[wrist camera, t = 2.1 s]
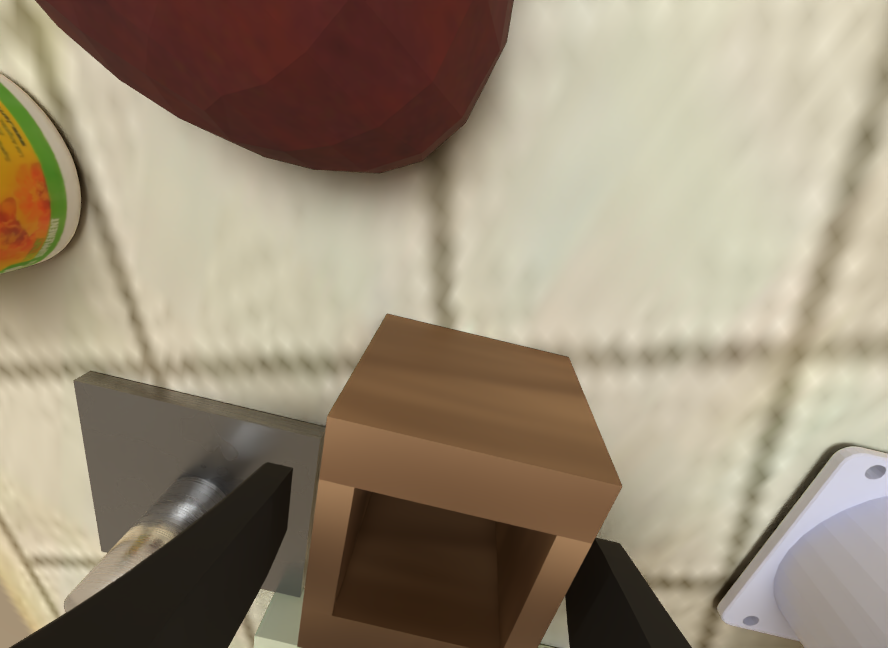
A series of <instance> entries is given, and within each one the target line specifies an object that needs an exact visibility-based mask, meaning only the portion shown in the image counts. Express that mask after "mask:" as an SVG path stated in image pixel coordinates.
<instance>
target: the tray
mask: <svg viewBox="0 0 888 648" xmlns="http://www.w3.org/2000/svg"><path fill="white" fill-rule="evenodd" d="M304 590H305V589H304ZM304 590H303V592H302V594H301V597H300V598H299V597H295V596H290V595H286V594H282V593H278V592H275V593H274V595H273V598H272V600H271V602H270V604H269V606H268V608H267V610H266V612H265V615H264V617H263V619H262V621H261V623H260V625H259V627H258V630H257V632H256V634H255V637H254V648H300V647H297V643H298V636H299V628H300V620H301V613H302V605H303V597H304ZM538 648H553V647H549V646H545V645H540V644H539V646H538Z"/></svg>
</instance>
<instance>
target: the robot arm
mask: <svg viewBox="0 0 888 648" xmlns="http://www.w3.org/2000/svg"><path fill="white" fill-rule="evenodd" d="M292 475H293V468H292V467H287V466H283V465H279V464H274V463H270V462H267V463H265V464H263V465H262V466H260V467H259V468H258V469H257V470H256V471H255V472H254V473H252V474H251V475H250V476H249V477H248V478H247V479H246V480H244V481H243V482H242V483H241V484H240V485H239V486H237V487H236V488H235V489H234V490H233V491H232V492H230V493H229V494H228V495H227V496H226V497H224V498H223V499H222V500H221V501H220V502H218V503H217V504H216V505H215V506H214V507H212V508H211V509H210V510H209V511H207V512H206V513H205V514H203V515H202V516H201V517H200V518H198V519H197V520H196V521H195V522H193V523H192V524H191V525H190V526H188V527H187V528H186V529H185V530H183V531H182V532H181V533H179V534H178V535H177V536H176V537H174V538H173V539H172V540H170V541H169V542H168V543H166V544H165V545H163V546H162V547H161V548H159V549H158V550H157V551H155V552H154V553H152V554H151V555H150V556H148V557H147V558H146V559H144V560H143V561H141V562H140V563H139V564H137V565H136V566H135V567H133V568H132V569H131V570H129V571H128V572H126V573H125V574H123V575H122V576H121V577H119V578H118V579H116V580H115V581H113V582H112V583H110V584H109V585H107V586H106V587H105V588H103V589H102V590H100V591H99V592H97V593H96V594H94V595H93V596H91V597H90V598H88V599H87V600H85V601H83V602H82V603H80V604H79V605H77V606H76V607H74V608H73V609H71V610H70V611H68V612H66V613H65V614H63V615H62V616H60V617H59V618H57V619H56V620H54V621H52V622H51V623H49V624H47V625H46V626H44V627H43V628H41V629H39V630H38V631H36V632H34V633H33V634H31V635H29V636H28V637H26V638H24V639H23V640H21V641H20V642H18V643H16V644H15V645H13V646H12V647H10V648H228V647H229V645H230V643H231V641H232V639H233V638H234V636H235V634H236V632H237V630H238V629H239V627H240V625H241V623H242V621H243V619H244V618H245V616H246V614H247V612H248V610H249V609H250V607H251V605H252V603H253V601H254V599H255V598H256V596H257V594H258V592H259V590H260V589H261V587H262V585H263V583H264V581H265V579H266V577H267V576H268V573H269V571H270V569H271V566H272V564H273V562H274V560H275V557H276V555H277V553H278V550H279V548H280V546H281V543H282V541H283V539H284V536H285V534H286V531H287V527H288V517H289V506H290V496H291V485H292ZM565 598H566V611H567V624H568V634H569V644H570V648H692V647H691V646H690V644H689V643H688V641H687V640H686V639H685V637H684V636H683V634H682V633H681V632H680V630H679V629H678V627H677V626H676V624H675V623H674V622H673V620H672V619H671V617H670V616H669V614H668V613H667V611H666V610H665V609H664V607H663V606H662V604H661V603H660V601H659V600H658V598H657V597H656V595H655V594H654V592H653V591H652V589H651V588H650V587H649V585H648V584H647V582H646V581H645V579H644V578H643V576H642V575H641V573H640V572H639V570H638V569H637V567H636V566H635V564H634V563H633V561H632V560H631V559H630V557H629V556H628V554H627V553H626V551H625V550H624V549H623V547H622V546H621V544H620V543H616V542H612V541H608V540H603V539H599V538H595V539H594V541H593V543H592V545H591V547H590V549H589V551H588V553H587V555H586V557H585V558H584V560H583V562H582V564H581V566H580V568H579V570H578V572H577V574H576V576H575V577H574V579H573V581H572V583H571V585H570V587H569V589H568V591H567V593H566V595H565ZM717 610H718V613H719V615H720V617H721V619H722V620H723V621H724V622H725V623H727V624H729V625H732V626H736V627H741V628H745V629H749V630H753V631H758V632H762V633H766V634H770V635H775V636H779V637H783V638H787V639H792V640H796V641H800V642H801V643H802V645H803V646H804V648H888V454H887V453H883V452H879V451H875V450H871V449H866V448H862V447H855V446H850V447H846V448H842V449H840V450H838V451H837V452H836V453H835V454H833V455H832V457H831V458H830V459H829V461H828V462H827V463H826V465H825V466H824V467H823V468H822V470H821V471H820V472H819V474H818V475H817V476H816V478H815V479H814V480H813V482H812V483H811V484H810V485H809V487H808V488H807V489H806V491H805V492H804V493H803V495H802V496H801V497H800V498H799V500H798V501H797V502H796V504H795V505H794V506H793V508H792V509H791V510H790V511H789V513H788V514H787V515H786V517H785V518H784V519H783V521H782V522H781V523H780V525H779V526H778V527H777V528H776V530H775V531H774V532H773V534H772V535H771V536H770V538H769V539H768V540H767V541H766V543H765V544H764V545H763V547H762V548H761V549H760V551H759V552H758V553H757V554H756V556H755V557H754V558H753V560H752V561H751V562H750V564H749V565H748V566H747V568H746V569H745V570H744V571H743V573H742V574H741V575H740V577H739V578H738V579H737V581H736V582H735V583H734V584H733V586H732V587H731V588H730V590H729V591H728V592H727V594H726V595H725V596H724V597H723V599H722V600H721V601H720V603H719V604H718V607H717Z"/></svg>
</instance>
